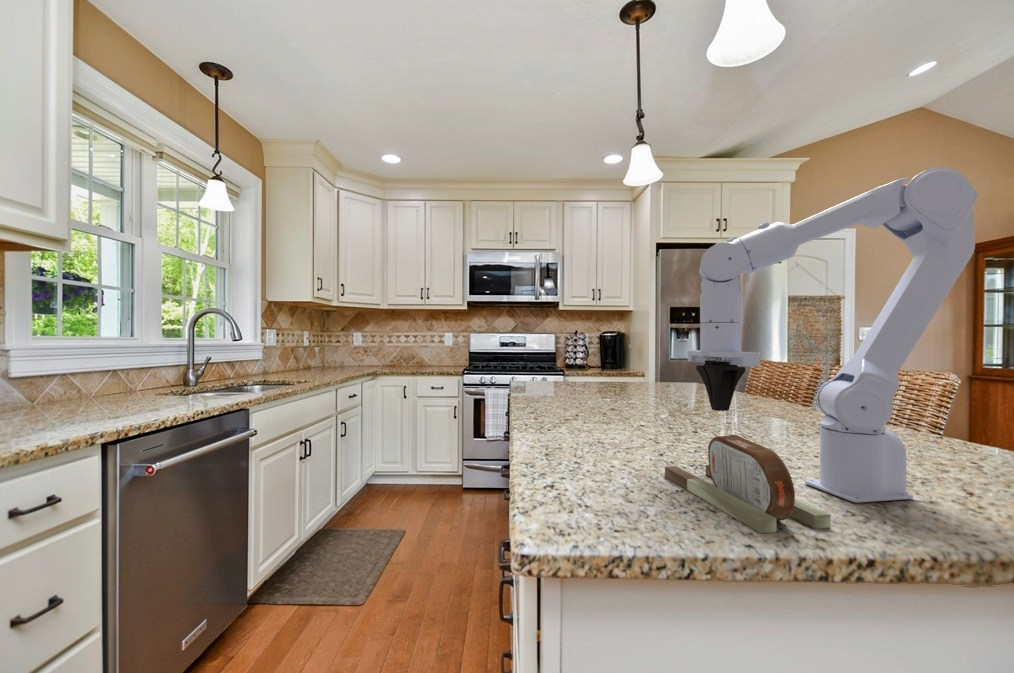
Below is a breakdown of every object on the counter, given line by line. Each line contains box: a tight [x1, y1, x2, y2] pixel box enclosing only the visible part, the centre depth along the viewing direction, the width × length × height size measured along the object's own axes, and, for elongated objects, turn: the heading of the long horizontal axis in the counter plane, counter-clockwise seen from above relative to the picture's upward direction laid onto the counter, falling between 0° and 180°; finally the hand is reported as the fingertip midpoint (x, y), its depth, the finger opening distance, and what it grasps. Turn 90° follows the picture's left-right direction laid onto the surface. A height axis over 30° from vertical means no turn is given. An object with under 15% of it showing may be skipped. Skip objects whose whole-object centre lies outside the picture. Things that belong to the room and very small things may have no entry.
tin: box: [707, 434, 796, 521], centre depth 55 cm, size 15×3×8 cm, turn 2°
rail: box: [664, 464, 832, 534], centre depth 58 cm, size 9×20×2 cm, turn 10°
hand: (720, 410), depth 67 cm, fingers closed
